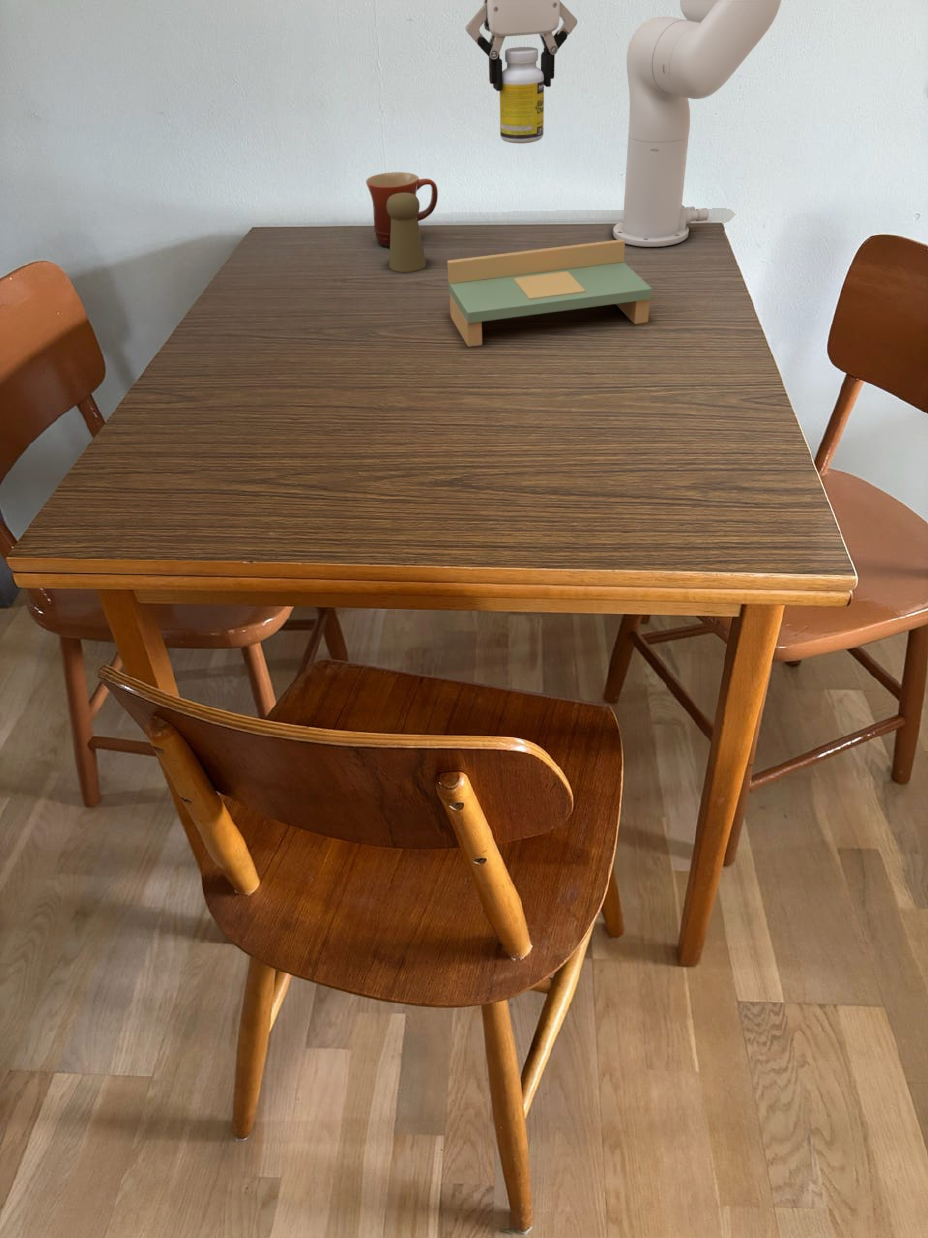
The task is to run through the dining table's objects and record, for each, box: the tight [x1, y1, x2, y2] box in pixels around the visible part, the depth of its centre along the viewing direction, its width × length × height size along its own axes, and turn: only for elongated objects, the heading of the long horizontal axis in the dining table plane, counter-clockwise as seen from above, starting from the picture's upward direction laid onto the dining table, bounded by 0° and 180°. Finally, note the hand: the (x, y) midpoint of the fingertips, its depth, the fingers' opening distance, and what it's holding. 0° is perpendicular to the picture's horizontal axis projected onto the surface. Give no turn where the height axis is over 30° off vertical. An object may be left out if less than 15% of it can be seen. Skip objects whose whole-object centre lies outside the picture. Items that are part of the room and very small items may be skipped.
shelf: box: [446, 239, 653, 348], centre depth 134 cm, size 26×12×8 cm, turn 103°
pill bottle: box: [499, 46, 545, 144], centre depth 139 cm, size 6×6×12 cm
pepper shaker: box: [386, 193, 427, 273], centre depth 153 cm, size 6×6×11 cm
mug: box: [365, 171, 439, 249], centre depth 162 cm, size 12×9×10 cm
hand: (521, 85), depth 138 cm, fingers closed on pill bottle, 6 cm apart
